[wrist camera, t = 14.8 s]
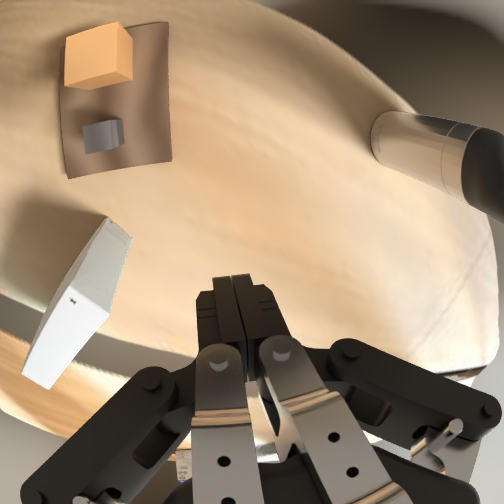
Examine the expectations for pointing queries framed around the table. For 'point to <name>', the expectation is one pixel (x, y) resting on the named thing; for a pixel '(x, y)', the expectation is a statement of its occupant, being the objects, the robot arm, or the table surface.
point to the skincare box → (78, 304)
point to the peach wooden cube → (98, 57)
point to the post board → (120, 112)
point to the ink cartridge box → (183, 464)
